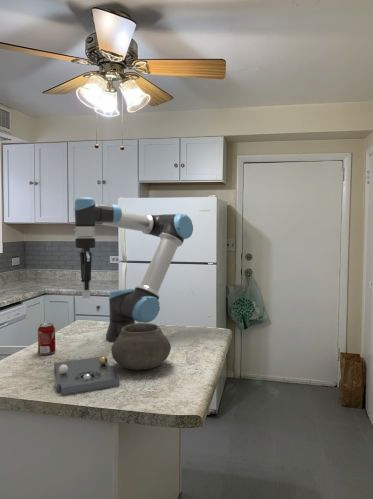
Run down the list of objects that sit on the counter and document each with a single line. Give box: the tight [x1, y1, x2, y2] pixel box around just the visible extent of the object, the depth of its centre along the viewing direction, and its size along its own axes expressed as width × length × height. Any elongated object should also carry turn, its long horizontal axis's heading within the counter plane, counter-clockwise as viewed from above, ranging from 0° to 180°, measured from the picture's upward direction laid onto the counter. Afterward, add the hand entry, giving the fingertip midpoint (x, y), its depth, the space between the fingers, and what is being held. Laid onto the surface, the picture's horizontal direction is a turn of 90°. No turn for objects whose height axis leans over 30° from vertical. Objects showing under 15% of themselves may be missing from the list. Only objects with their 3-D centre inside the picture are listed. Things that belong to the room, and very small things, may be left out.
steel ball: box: [82, 374, 92, 379], centre depth 128 cm, size 3×3×3 cm
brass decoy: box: [99, 355, 108, 365], centre depth 139 cm, size 3×3×3 cm
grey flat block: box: [53, 356, 121, 397], centre depth 133 cm, size 24×20×2 cm
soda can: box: [37, 322, 56, 356], centre depth 159 cm, size 7×7×12 cm
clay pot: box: [110, 322, 172, 371], centre depth 143 cm, size 22×21×15 cm
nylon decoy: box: [59, 364, 68, 374], centre depth 130 cm, size 3×3×3 cm
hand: (86, 297), depth 151 cm, fingers closed
